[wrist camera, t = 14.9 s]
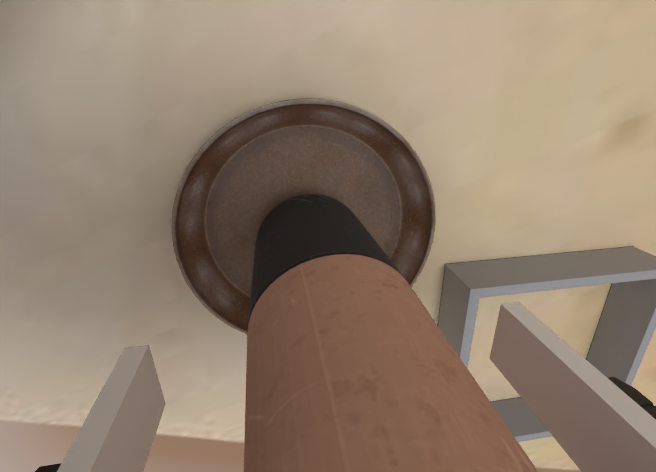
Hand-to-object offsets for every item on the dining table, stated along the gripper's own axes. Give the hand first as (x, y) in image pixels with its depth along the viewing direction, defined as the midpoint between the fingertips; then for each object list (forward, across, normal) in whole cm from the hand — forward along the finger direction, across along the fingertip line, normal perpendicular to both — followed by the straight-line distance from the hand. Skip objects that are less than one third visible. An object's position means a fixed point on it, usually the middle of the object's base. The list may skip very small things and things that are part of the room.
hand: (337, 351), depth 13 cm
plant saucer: (+14, 0, 0) cm, 14 cm away
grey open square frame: (+13, +20, -13) cm, 28 cm away
